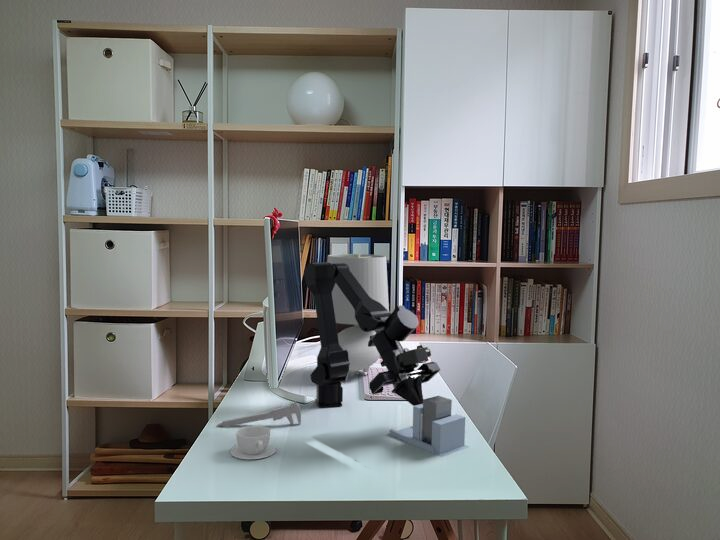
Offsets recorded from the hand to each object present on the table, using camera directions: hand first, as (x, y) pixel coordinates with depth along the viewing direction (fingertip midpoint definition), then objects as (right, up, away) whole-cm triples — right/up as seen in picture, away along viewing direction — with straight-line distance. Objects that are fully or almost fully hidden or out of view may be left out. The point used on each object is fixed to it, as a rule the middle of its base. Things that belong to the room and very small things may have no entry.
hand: (422, 409), depth 135 cm
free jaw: (+1, -7, -1) cm, 7 cm away
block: (+3, -7, -3) cm, 8 cm away
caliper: (-39, -7, +10) cm, 41 cm away
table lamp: (-16, -3, +57) cm, 59 cm away
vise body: (+1, -8, -1) cm, 8 cm away
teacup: (-38, -8, -6) cm, 39 cm away
